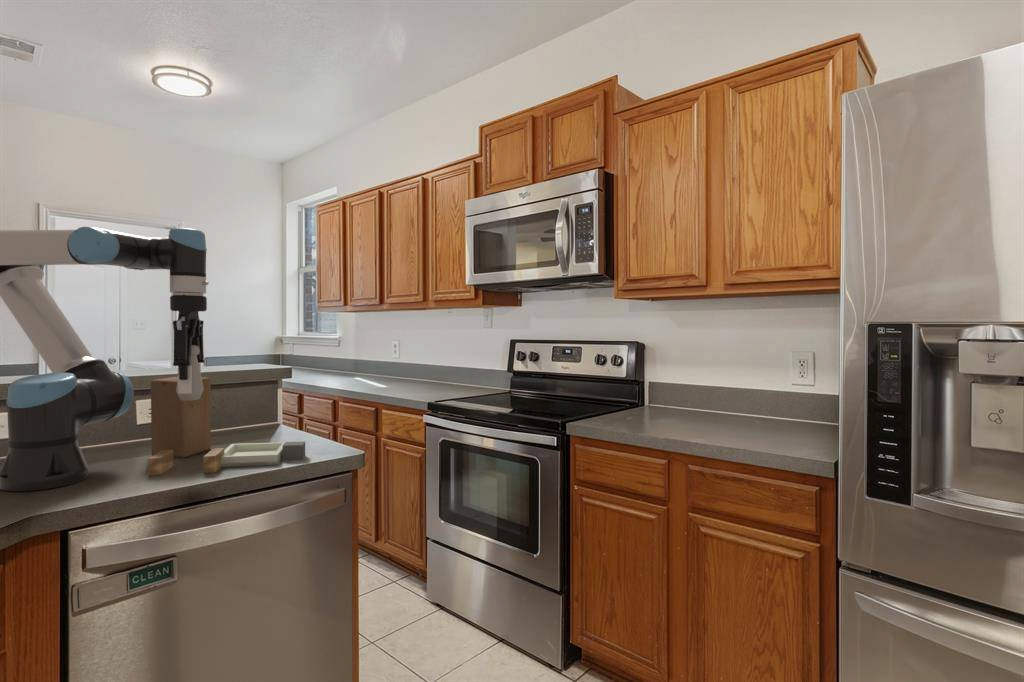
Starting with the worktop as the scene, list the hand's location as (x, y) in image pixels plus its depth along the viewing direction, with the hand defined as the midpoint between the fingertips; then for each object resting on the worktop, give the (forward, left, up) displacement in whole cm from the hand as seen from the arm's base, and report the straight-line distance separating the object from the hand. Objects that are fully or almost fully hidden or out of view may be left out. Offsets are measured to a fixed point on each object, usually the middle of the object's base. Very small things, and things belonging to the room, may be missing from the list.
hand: (189, 391), depth 133 cm
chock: (+23, +7, -19) cm, 30 cm away
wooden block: (-7, +18, -19) cm, 27 cm away
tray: (+13, +8, -19) cm, 24 cm away
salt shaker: (0, 0, -2) cm, 2 cm away
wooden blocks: (0, 0, -19) cm, 19 cm away
